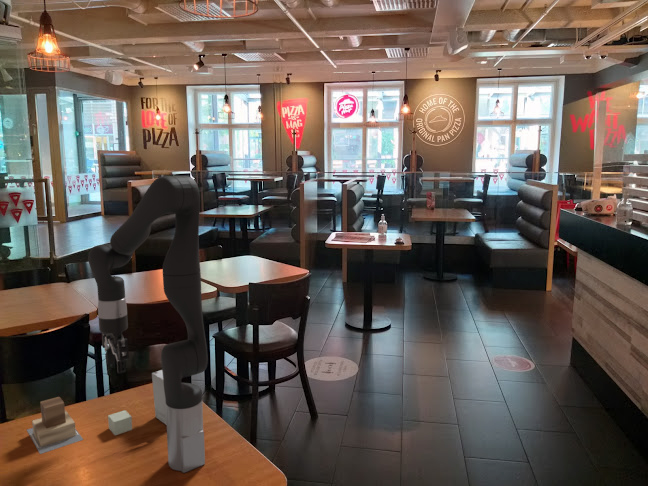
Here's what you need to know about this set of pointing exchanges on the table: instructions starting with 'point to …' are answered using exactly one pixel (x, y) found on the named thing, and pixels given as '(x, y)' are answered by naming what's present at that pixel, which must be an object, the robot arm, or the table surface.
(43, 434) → the pedestal
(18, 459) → the table surface
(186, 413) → the robot arm
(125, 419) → the block
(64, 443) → the plate
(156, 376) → the skincare box
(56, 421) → the block
